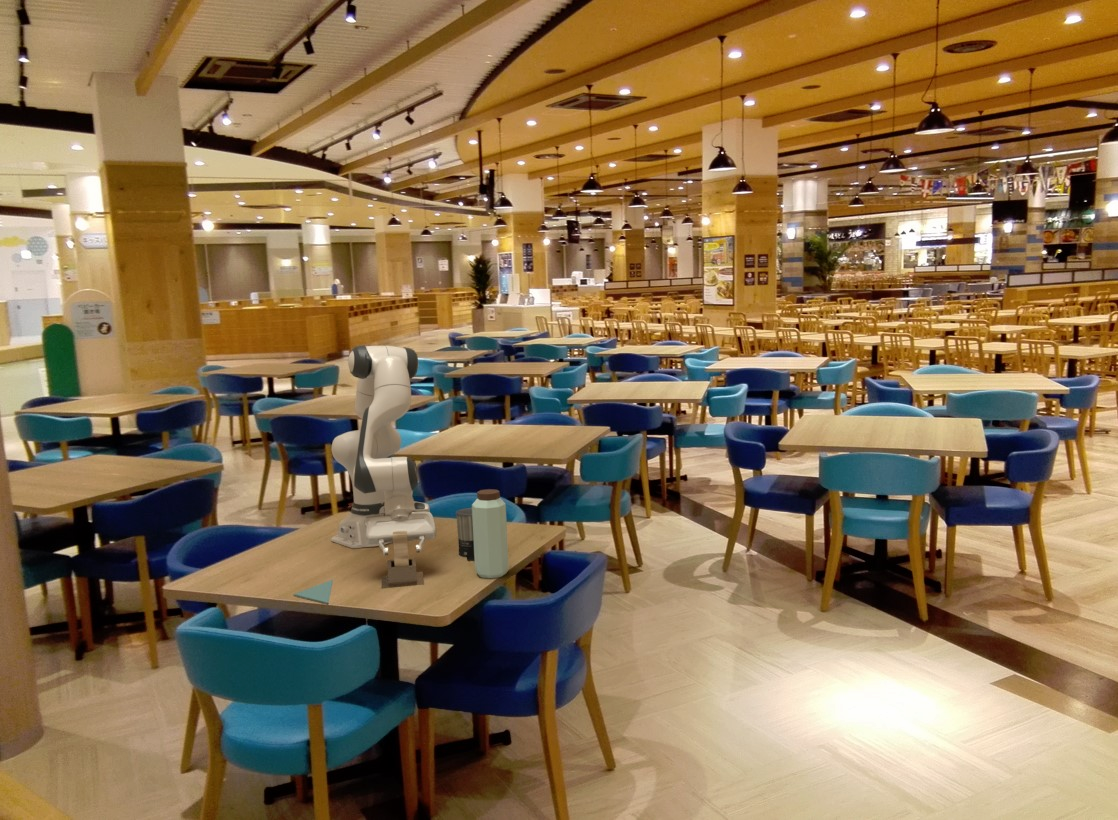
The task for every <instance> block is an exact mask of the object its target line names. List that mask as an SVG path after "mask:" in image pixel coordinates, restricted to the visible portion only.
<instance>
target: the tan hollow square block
mask: <svg viewBox="0 0 1118 820" xmlns="http://www.w3.org/2000/svg"><path fill="white" fill-rule="evenodd" d="M408 560H409V566H400V567H395V563H394V559H389V560H387V574H383V575H381V585H380V587H381V589H395V588H403V587H414V586H415V587H416V586H422V585H423V586H424V585H425V580H424V572H423V571H417V564H416V557H411V558H409V557H408Z"/></svg>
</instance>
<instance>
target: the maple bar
mask: <svg viewBox="0 0 1118 820" xmlns="http://www.w3.org/2000/svg"><path fill="white" fill-rule="evenodd" d="M392 543H393V546H392V547H393V560H394V563H395V567H400V566H409V560H408V559H409V546H408V545H409V544H408V541H407V531H397V532H393V542H392Z"/></svg>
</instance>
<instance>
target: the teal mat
mask: <svg viewBox="0 0 1118 820" xmlns="http://www.w3.org/2000/svg"><path fill="white" fill-rule="evenodd" d="M333 582H334V579H330V580H327V581H324V582H323V583H319V584H317V585H314V586H312V587H309V588H306V589H304V590H301V591H299V592H295V593H293V597H297V598H300V597H301V599H305V600H309V601H312V602H317V603H321V604H324V603H325V605H329V602H330V597H331V592H332V587H333Z"/></svg>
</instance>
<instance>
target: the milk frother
mask: <svg viewBox="0 0 1118 820" xmlns="http://www.w3.org/2000/svg"><path fill="white" fill-rule="evenodd" d="M454 513H455V515H456V528H457V540H458V541H457V542H458V556H460V557H462V558H466V560H467V561H475V558H474V538H473V519H472V507H469V508H468V507H467V508H462V509H458V510H456V511H455V512H454Z"/></svg>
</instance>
